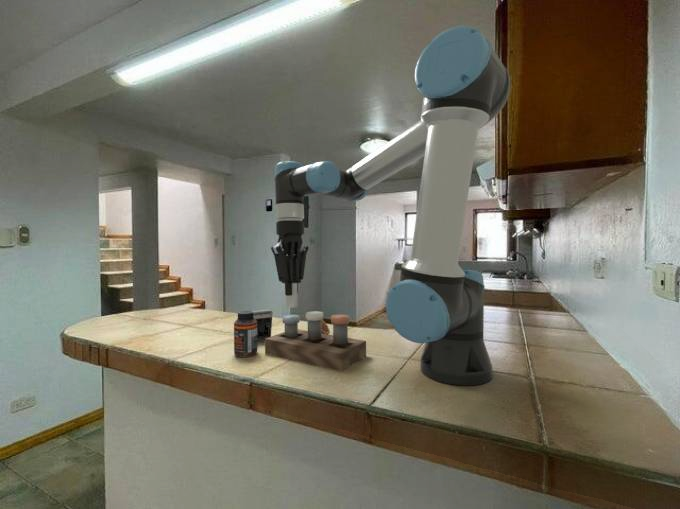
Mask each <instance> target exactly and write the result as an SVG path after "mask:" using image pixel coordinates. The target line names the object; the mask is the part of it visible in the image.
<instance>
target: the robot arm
mask: <svg viewBox="0 0 680 509" xmlns="http://www.w3.org/2000/svg"><path fill="white" fill-rule="evenodd" d="M414 81H415V85H416V87H417V89H418V92H419V93H420V94H421V95H422V96H423V99H422V106H421V107H422V108H421V113H420V120H418V121H417V122H415V123H414V124H412V125H411V126H410V127H408V128H407V129H405V130H404V131H402V132H401V133H399V134H398V135H396V136H395V137H393V138H392V139H391V140H389V141H387V142H386V143H385V144H384V145H382V146H381V147H379V148H377V149H376V150H374V151H373V152H372V153H370V154H369V155H367V156H365V157H364V158H363V159H361V160H360V161H359V162H357V163H356V164H354V165H353V166H351V167H349V168H348V169H346V170H342V169H339V168H338V167H337V166H336V165H335V163H334V162H333V161H330V160H325V161H324V160H323V161H317V162H314V163H311V164H307V165H305V166H303V165H302V163H300V162H298V161H293V160H292V161H289V160H287V161H280V162H278V163H277V164H276V165H275V170H274V171H275V173H274V174H275V175H274V188H275V189H274V190H275V192H274V193H275V217H276V220H278V221H276V223H275V224H276V225H275V226H276V227H275V232H276V235H277V236H278V240H277V243H276V245H274V246H273V245H272V246H270V247H271V248H270V249H271V252H272V254H273V258H274V262H275V267H276V272H277V277H278V281H279V282H281V284H284V294H285V296H286V297H285V298H286V299H285V300H286V301H285V302H286V306H285V307H286V308H290V309H293V308H294V309H295V308H298V304H299V303H298V294H299V284H301V283H302V281H303V280H304V277H305V276H304V275H305V269H306V268H305V267H306V259H307V253H308V250H309V246H308V245H304V244H303V237H302V236H303V235H305V222H304V221H303V220H304V219H305V209H304V208H305V204H304V198H306V197H308V196H321V197H327V198H335V199H341V200H346V201H348V202H349V201H351V202H353V201H357V202H358V201H361V200H364V198H365V197H366V195H367V194H368V192H369V189H370V188H373V187H374V186H376V185H378V184H379V183H381V182H382V181H384V180H386V179H388V178H389V177H392V176H393V175H394V174H397V173H398V172H400V171H401V170H403V169H405V168H406V167H408V166H410V165H411V164H414V163H415V162H417V161H418V160H420V159H422V158H423V165H422V172H421V179H420V188H419V194H418V202H417V207H416V216H415V221H414V222H415V224H414V231H413V232H414V233H413V239H412V246H411V254H410V256H409V258H408V259H407V260H406V261H405V262H404V263H402V264H401V267H400V268H401V270H400V275H399V281H398V282H396V283H395V284H394V285H393V287H391V288H390V290H389V292H388V293H387V295H386V300H385V312H386V315H387V319H388V322H389V323H390V324H391V325H392V327H393V328H394V330H395V331H396V333H398V335H399V336H401V338H403V339H404V340H405V339H406V340H407V341H410V342H412V343H416V344H425V345H424V347H423V351H422V354H421V357H420V371H421V372H422V374H423V375H425V376H426V377H427V378H430V379H432V380H435V381H437V382H441V383H445V384H450V385H455V386H456V385H457V386H478V385H482V384H486V383H489V382H490V381H492V379H493V365H492V362H491V359H490V356H489V353H488V350H487V346H486V344H485V341H484V340H485V339H484V327H485V326H484V325H485V324H484V322H485V321H484V315H485V314H484V313H485V310H484V307H485V303H484V301H485V298H484V297H485V296H484V295H485V292H484V291H485V289H486V286H485V282H484V276H483V274H482V273H481V272H480V271H478V270H473V269H463V268H462V267H461V266H460V265H459V257H460V251H461V245H462V244H461V243H462V238H463V230H464V224H465V218H466V210H467V206H468V205H467V204H468V200H469V199H468V197H469V193H470V185H471V177H472V171H473V166H474V158H475V153H476V152H475V151H476V145H477V141H478V140H477V138H478V132H479V130H480V129H481V128H483V127H484V126H485V125H487V124H488V123H490V122H491V121H492V120H493V119H495V118H496V116H498V114H499V113H500V112H501V111H502V110H503V108H504V107H505V105H506V103H507V101H508V98H509V96H510V91H511V77H510V73H509V70H508V69H507V67H506V65H504V63H502V60H501V59H500V58H499V56H498V55H497V53H496V51H495V50H494V48H493V47H492V44H491V42H490V40H489V39H488V38H487V36H485V35H484V34H482V33H481V31H479V29H477V28H475V27H472V26H469V25H457V26H453V27H450V28H448V29H446V30H444V31H442V32H441V33H439V34H438V35H436V36H435V37H434V38H433V39H432V40H431V42H430V43H429V44H428V45H426V46H425V48H424V49H423V50H422V52H421V54H420V55H419V57H418V60H417V62H416V66H415V70H414Z"/></svg>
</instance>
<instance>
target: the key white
mask: <svg viewBox="0 0 680 509" xmlns="http://www.w3.org/2000/svg"><path fill="white" fill-rule="evenodd" d="M322 319H323V320H324V312H323V311H315V310H314V311H307V312H305V321H307V331H308V339H311V340H318V339H321V338H322V331H321V320H322Z"/></svg>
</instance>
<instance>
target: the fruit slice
mask: <svg viewBox="0 0 680 509" xmlns="http://www.w3.org/2000/svg"><path fill="white" fill-rule="evenodd" d="M321 331H322V334H328V335H330V333H331V332H330V328H329V326H328V324H327V323H326V321H325V320H324V318H323V319H322V320H321Z"/></svg>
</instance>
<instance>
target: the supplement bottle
mask: <svg viewBox="0 0 680 509" xmlns="http://www.w3.org/2000/svg"><path fill="white" fill-rule="evenodd" d="M253 311H254V310H240V311H238V312H237V319H236V320H235V321H234V322H233V351H234V354H233V355H235V356H236V357H238V358H249V357H253V356H255V355H256V354H257V353H258V341H257V321H256V320H255V319H254V318H253V316H254V315H253Z"/></svg>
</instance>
